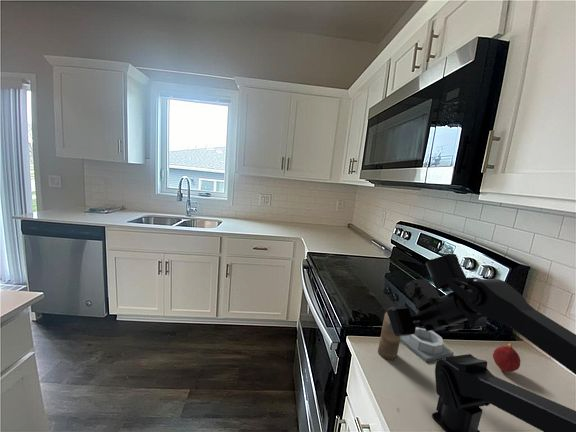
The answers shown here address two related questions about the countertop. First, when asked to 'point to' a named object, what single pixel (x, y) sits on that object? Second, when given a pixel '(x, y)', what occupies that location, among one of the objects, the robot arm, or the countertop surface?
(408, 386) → the countertop surface
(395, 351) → the mill
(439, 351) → the dock
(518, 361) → the onion
